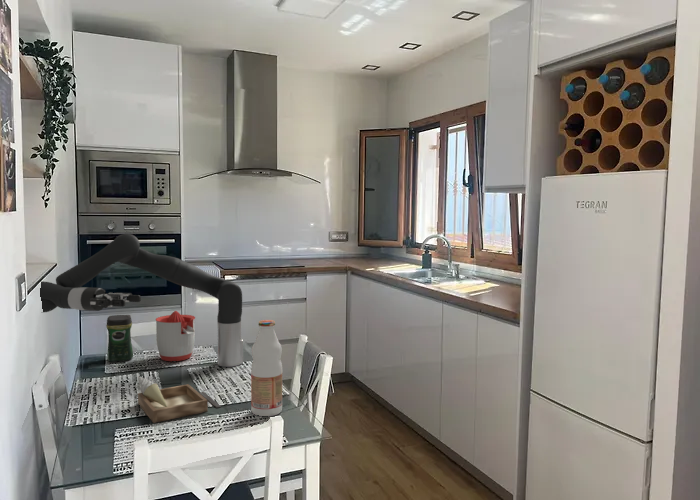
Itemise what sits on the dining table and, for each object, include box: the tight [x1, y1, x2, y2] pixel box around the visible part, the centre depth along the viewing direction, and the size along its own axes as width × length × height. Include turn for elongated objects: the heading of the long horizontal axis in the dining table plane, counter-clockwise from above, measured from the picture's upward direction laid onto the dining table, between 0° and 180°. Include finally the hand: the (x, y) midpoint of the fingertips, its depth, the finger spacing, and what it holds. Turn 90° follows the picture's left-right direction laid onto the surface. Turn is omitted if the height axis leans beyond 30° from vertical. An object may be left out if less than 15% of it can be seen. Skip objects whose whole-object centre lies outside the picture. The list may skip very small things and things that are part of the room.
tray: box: [137, 383, 222, 424], centre depth 163 cm, size 21×18×4 cm
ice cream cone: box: [137, 375, 167, 407], centre depth 163 cm, size 5×5×15 cm
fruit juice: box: [250, 319, 283, 417], centre depth 158 cm, size 9×9×28 cm
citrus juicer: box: [155, 310, 196, 362], centre depth 215 cm, size 16×17×20 cm
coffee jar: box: [106, 314, 134, 363], centre depth 213 cm, size 10×8×19 cm
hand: (132, 300), depth 168 cm, fingers open, 8 cm apart
